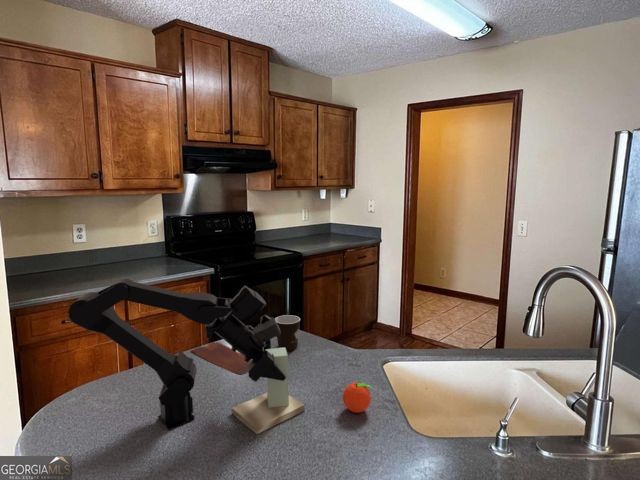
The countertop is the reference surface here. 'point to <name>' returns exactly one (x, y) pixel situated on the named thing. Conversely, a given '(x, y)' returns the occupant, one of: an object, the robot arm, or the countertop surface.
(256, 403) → the birch board
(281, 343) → the coffee mug
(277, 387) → the green block
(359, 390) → the clementine
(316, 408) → the countertop surface
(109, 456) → the countertop surface
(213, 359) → the wooden tablet
